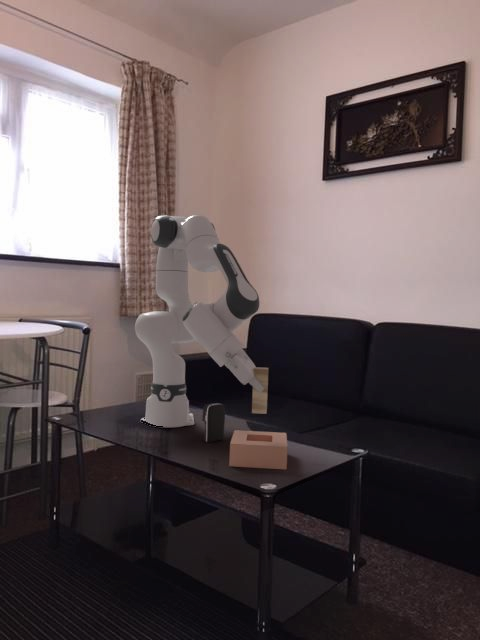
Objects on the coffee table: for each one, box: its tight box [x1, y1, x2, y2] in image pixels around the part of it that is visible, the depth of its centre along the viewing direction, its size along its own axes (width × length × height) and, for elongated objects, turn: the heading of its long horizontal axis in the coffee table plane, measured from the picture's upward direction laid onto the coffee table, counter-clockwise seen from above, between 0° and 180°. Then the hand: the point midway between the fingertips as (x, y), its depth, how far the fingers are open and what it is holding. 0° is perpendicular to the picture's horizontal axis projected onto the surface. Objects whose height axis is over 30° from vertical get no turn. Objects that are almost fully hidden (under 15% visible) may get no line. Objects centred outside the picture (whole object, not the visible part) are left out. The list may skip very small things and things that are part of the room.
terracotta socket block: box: [228, 429, 288, 470], centre depth 148 cm, size 15×15×6 cm
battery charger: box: [201, 402, 226, 443], centre depth 167 cm, size 7×4×11 cm, turn 134°
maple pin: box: [251, 366, 269, 415], centre depth 147 cm, size 4×4×12 cm
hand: (262, 388), depth 147 cm, fingers closed on maple pin, 4 cm apart
